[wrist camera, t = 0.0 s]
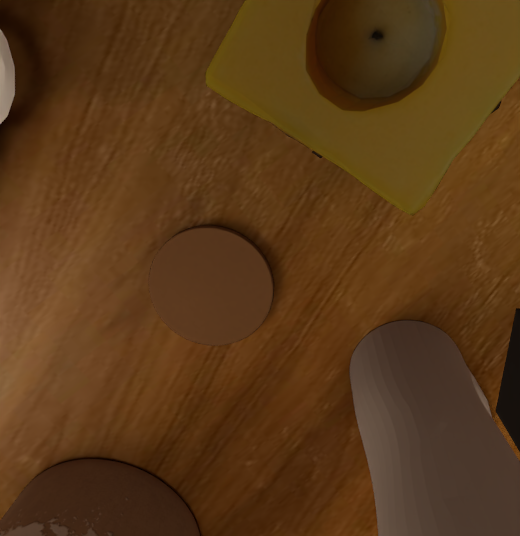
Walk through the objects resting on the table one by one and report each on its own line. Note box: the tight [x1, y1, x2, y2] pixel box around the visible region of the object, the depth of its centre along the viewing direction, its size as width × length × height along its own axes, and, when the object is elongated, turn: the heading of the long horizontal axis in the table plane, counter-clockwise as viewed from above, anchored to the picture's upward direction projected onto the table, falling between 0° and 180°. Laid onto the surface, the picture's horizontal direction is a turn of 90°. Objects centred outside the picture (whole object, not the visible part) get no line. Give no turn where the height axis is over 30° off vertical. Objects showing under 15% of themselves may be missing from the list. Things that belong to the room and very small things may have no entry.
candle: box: [205, 0, 520, 216], centre depth 22 cm, size 10×10×10 cm
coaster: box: [149, 226, 274, 345], centre depth 32 cm, size 8×8×1 cm
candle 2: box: [350, 320, 520, 536], centre depth 24 cm, size 7×14×20 cm, turn 33°
